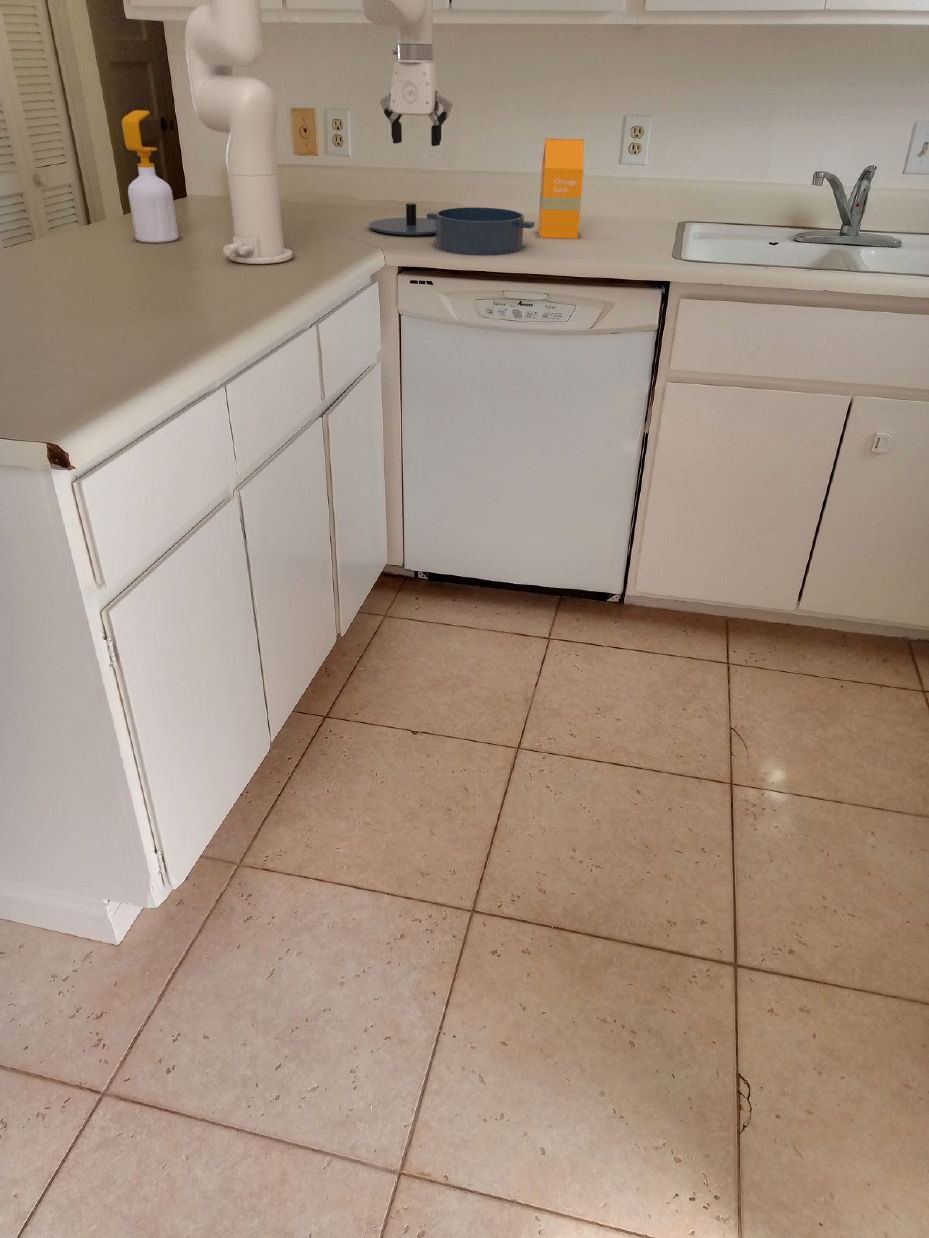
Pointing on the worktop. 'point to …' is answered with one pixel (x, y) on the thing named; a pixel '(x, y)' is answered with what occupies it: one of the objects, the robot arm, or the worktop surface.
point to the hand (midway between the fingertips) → (416, 144)
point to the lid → (406, 224)
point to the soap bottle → (148, 190)
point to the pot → (479, 230)
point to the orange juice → (561, 188)
